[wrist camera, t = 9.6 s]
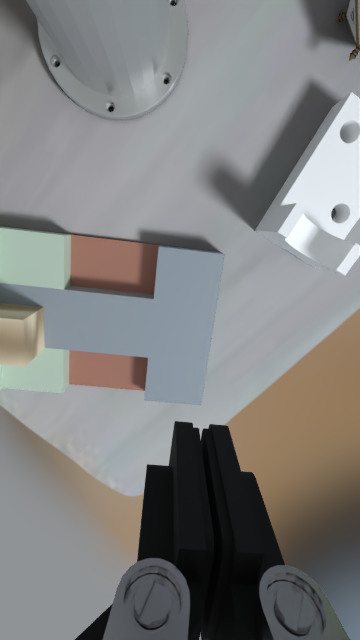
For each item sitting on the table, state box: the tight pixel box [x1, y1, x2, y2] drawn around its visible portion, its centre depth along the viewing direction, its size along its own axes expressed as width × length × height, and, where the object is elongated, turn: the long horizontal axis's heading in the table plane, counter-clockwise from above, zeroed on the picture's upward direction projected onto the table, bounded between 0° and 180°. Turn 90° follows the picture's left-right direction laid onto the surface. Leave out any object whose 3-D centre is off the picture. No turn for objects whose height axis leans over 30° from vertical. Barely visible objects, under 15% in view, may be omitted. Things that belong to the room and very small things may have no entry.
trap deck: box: [0, 226, 225, 405], centre depth 32 cm, size 17×23×4 cm
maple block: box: [0, 303, 45, 367], centre depth 30 cm, size 4×4×4 cm
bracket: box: [255, 92, 360, 276], centre depth 28 cm, size 13×7×8 cm, turn 150°
